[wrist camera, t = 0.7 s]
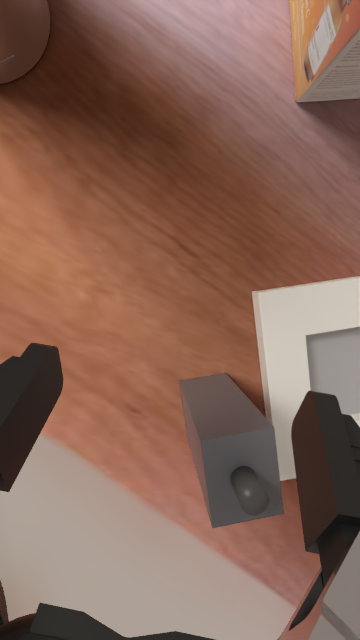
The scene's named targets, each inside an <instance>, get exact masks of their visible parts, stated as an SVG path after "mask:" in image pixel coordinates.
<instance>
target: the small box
mask: <svg viewBox="0 0 360 640" xmlns="http://www.w3.org/2000/svg"><path fill="white" fill-rule="evenodd" d="M289 4H290V14H291V28H292V46H293V65H294V84H295V101H296V102H311V101H328V100H344V99H358V98H360V0H289Z"/></svg>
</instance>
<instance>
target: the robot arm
mask: <svg viewBox="0 0 360 640" xmlns="http://www.w3.org/2000/svg"><path fill="white" fill-rule="evenodd" d="M49 34H50V12H49V6H48V1H47V0H0V84H2V83H7V82H11V81H13V80H15V79H17V78H19V77H22V76H23V75H24V74H26V73H27V72H28V71H29V70H31V69H32V68H33V67H34V66H35V64H36V63H37V62H38V61H39V59H40V58H41V56H42V54H43V52H44V50H45V48H46V46H47V42H48V38H49ZM62 387H63V374H62V368H61V362H60V357H59V351H58V348H57V347H55V346H50V345H44V344H38V343H31V344H30V345H29V346H28V347H27V349H26V350H25V351H24V353H23V354H22V355H21V357H15V356H12V357H11V358H9V359H8V360H6V361H5V362H3V363H2V364H0V490H1V491H6V492H9V491H10V489H11V487H12V485H13V483H14V481H15V479H16V478H17V476H18V474H19V472H20V470H21V468H22V466H23V464H24V462H25V460H26V459H27V457H28V455H29V453H30V451H31V449H32V447H33V445H34V444H35V442H36V440H37V438H38V436H39V434H40V432H41V430H42V428H43V427H44V425H45V423H46V421H47V419H48V417H49V415H50V413H51V411H52V410H53V408H54V406H55V404H56V402H57V400H58V398H59V396H60V394H61V391H62ZM291 440H292V448H293V456H294V464H295V472H296V479H297V487H298V495H299V503H300V511H301V519H302V526H303V534H304V542H305V550H306V551H307V552H312V553H317V554H319V555H320V562H321V568H320V569H319V571H318V572H317V574H316V576H315V578H314V579H313V581H312V583H311V585H310V586H309V588H308V590H307V592H306V593H305V595H304V597H303V598H302V600H301V602H300V604H299V605H298V607H297V609H296V611H295V612H294V614H293V616H292V618H291V619H290V621H289V623H288V625H287V626H286V628H285V629H284V631H283V632H282V634H281V636H280V637H279V638H278V639H277V640H360V427H359V426H358V424H357V423H356V421H355V420H354V419H353V417H352V416H351V415H346V414H342V413H341V410H340V406H339V402H338V399H337V397H336V396H335V395H333V394H327V393H321V392H315V391H308V392H307V394H306V395H305V397H304V400H303V402H302V404H301V406H300V408H299V410H298V412H297V414H296V416H295V418H294V420H293V423H292V429H291ZM0 640H214V639H210V638H205V637H200V636H195V635H191V634H186V633H181V632H176V631H175V632H167V633H160V634H153V635H146V636H139V637H132V638H127V637H123V636H121V635H120V634H118V633H116V632H115V631H113V630H112V629H110V628H108V627H107V626H105V625H104V624H102V623H100V622H99V621H97V620H95V619H94V618H92V617H91V616H89V615H88V614H86V613H84V612H81V611H76V610H72V609H67V608H62V607H58V606H53V605H48V604H43V603H40V604H39V606H38V609H37V612H36V613H34V614H29V615H26V616H22V617H19V618H16V619H14V620H12V621H10V622H9V619H8V612H7V605H6V600H5V595H4V590H3V587H2V583H1V581H0Z"/></svg>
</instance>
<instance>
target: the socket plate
mask: <svg viewBox="0 0 360 640" xmlns="http://www.w3.org/2000/svg"><path fill="white" fill-rule="evenodd" d="M252 299H253V308H254V316H255V325H256V334H257V343H258V352H259V361H260V370H261V378H262V387H263V396H264V405H265V414H266V419H267V420H268V421H269V422H270V423H271V424H272V425H273V427H274V430H275V439H276V448H277V457H278V466H279V475H280V481H283V480H288V479H293V478H296V472H295V464H294V456H293V448H292V440H291V429H292V423H293V420H294V418H295V416H296V414H297V412H298V410H299V408H300V406H301V404H302V402H303V400H304V397H305V395H306V394H307V392H308V391H315V392H321V393H327V394H333V395H335V396H336V397H337V399H338V402H339V406H340V410H341V413H342V414H346V415H351V416H352V417H353V419H354V420H355V421H356V423H357V424H358V426H359V427H360V276H355V277H348V278H341V279H334V280H328V281H321V282H314V283H307V284H300V285H293V286H287V287H280V288H273V289H266V290H259V291H253V292H252Z"/></svg>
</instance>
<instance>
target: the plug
mask: <svg viewBox="0 0 360 640" xmlns="http://www.w3.org/2000/svg"><path fill="white" fill-rule="evenodd" d="M179 383H180V390H181V397H182V404H183V411H184V418H185V425H186V431H187V438H188V441H189V445H190V449H191V452H192V456H193V460H194V463H195V467H196V470H197V474H198V478H199V481H200V485H201V489H202V492H203V496H204V499H205V503H206V507H207V510H208V514H209V517H210V521H211V525H212V528H216V527H221V526H226V525H231V524H236V523H240V522H245V521H250V520H255V519H260V518H265V517H270V516H275V515H279V514H284V511H283V502H282V493H281V484H280V475H279V466H278V457H277V448H276V439H275V430H274V427H273V425H272V424H271V423H270V422H269V421H268V420H267V419H266V418H265V417H264V415H263V414H262V413H261V412H260V411H259V410H258V409H257V408H256V406H255V405H254V404H253V403H252V402H251V401H250V400H249V399H248V397H247V396H246V395H245V394H244V393H243V392H242V391H241V390H240V388H239V387H238V386H237V385H236V384H235V383H234V382H233V381H232V379H231V378H230V377H229V376H228V375H227V374H226V373H223V374H217V375H211V376H205V377H199V378H193V379H187V380H181V381H179Z"/></svg>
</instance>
